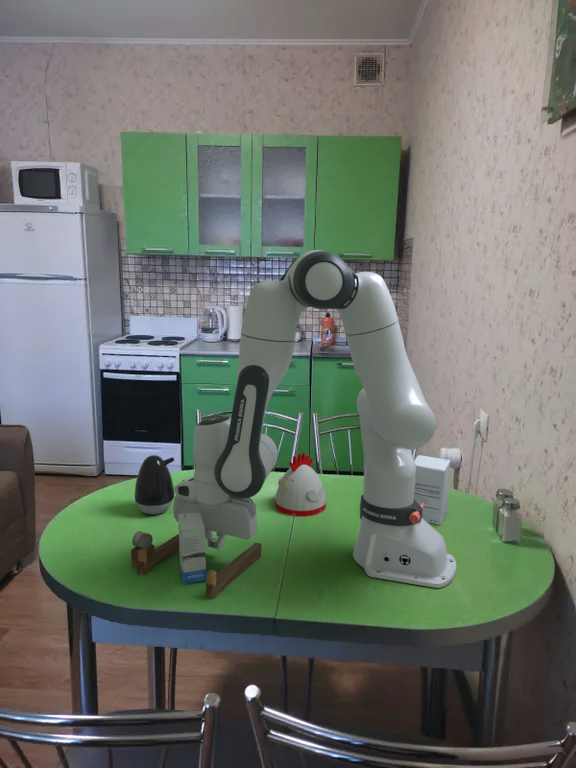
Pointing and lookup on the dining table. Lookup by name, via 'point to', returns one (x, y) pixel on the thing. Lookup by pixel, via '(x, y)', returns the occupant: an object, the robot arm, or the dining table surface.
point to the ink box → (192, 547)
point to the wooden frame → (150, 557)
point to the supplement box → (432, 487)
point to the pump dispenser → (154, 485)
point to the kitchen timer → (300, 489)
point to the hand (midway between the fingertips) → (215, 547)
